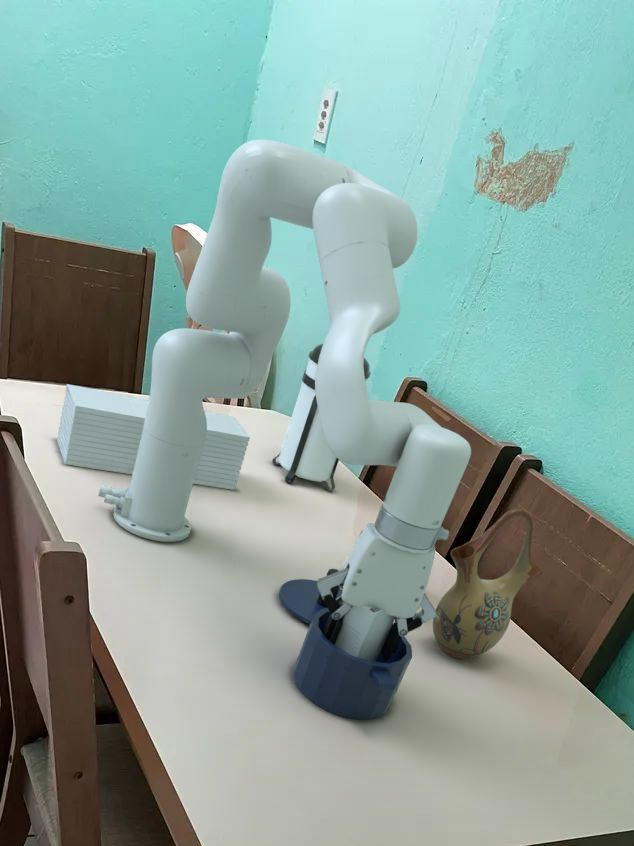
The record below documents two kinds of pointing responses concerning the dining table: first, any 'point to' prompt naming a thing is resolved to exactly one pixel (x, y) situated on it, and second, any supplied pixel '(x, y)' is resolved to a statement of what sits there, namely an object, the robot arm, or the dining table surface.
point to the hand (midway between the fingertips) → (357, 647)
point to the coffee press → (309, 433)
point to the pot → (347, 675)
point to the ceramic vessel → (481, 595)
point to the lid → (305, 597)
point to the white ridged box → (121, 433)
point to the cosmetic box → (364, 632)
